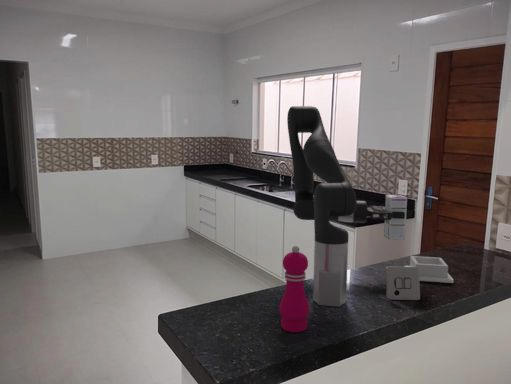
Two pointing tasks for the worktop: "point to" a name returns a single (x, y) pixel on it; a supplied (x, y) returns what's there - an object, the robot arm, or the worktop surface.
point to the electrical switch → (402, 283)
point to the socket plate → (431, 269)
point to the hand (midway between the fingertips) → (402, 213)
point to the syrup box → (394, 227)
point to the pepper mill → (294, 292)
